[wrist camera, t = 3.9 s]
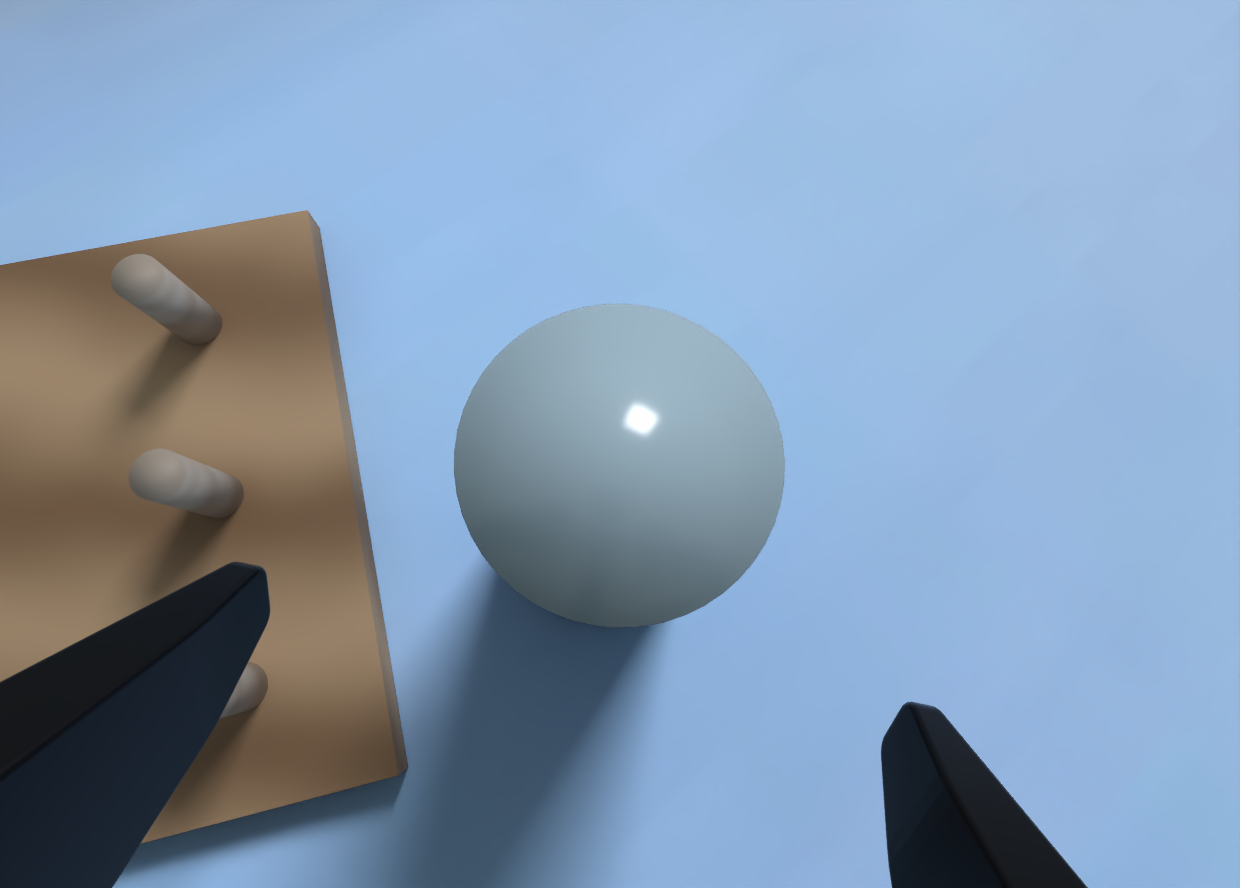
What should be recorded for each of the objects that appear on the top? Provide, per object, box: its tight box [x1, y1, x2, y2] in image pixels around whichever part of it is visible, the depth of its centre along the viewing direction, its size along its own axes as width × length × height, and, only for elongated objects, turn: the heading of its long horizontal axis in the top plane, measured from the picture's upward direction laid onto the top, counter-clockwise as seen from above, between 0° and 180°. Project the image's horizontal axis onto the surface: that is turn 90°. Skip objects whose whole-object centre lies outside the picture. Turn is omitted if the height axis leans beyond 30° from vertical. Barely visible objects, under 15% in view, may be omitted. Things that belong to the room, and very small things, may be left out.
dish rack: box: [0, 210, 408, 843], centre depth 18 cm, size 16×16×4 cm
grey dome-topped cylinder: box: [454, 304, 785, 628], centre depth 16 cm, size 5×5×10 cm
